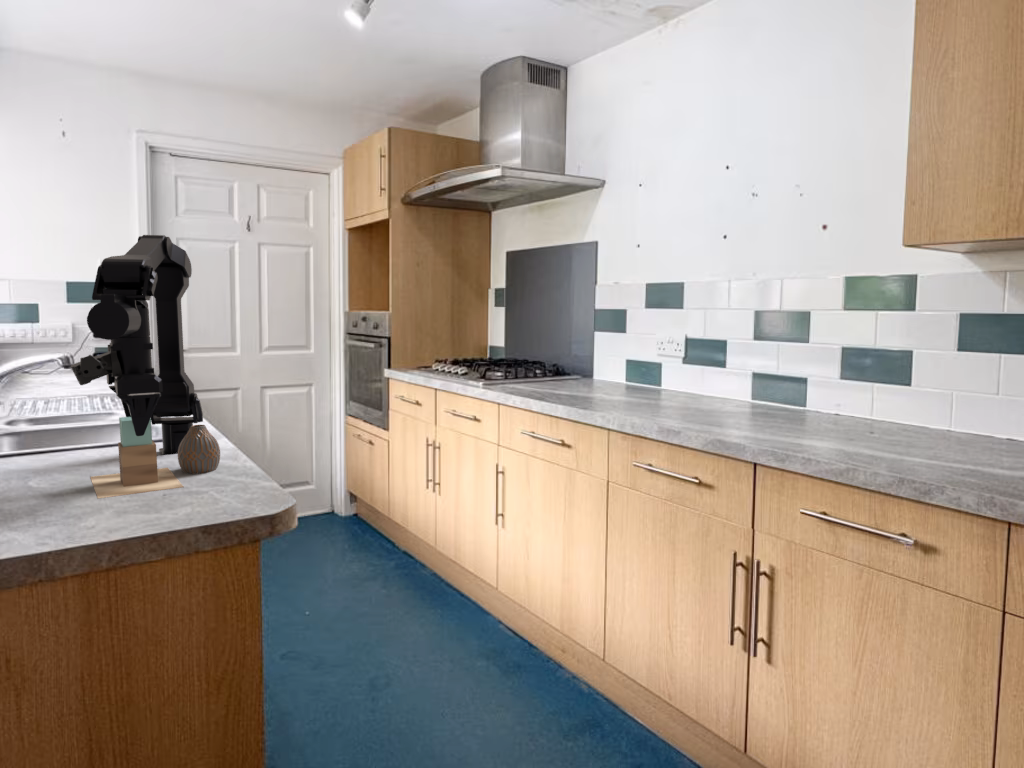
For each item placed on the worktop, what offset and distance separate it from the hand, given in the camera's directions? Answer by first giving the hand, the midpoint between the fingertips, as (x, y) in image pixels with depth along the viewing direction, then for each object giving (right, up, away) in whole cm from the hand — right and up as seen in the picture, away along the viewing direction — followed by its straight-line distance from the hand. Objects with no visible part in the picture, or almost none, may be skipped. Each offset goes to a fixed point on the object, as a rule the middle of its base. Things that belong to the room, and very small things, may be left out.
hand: (136, 431), depth 116 cm
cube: (0, -2, 0) cm, 2 cm away
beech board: (0, -9, +1) cm, 9 cm away
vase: (+6, -8, +9) cm, 14 cm away
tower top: (0, -5, +1) cm, 5 cm away
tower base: (0, -8, +1) cm, 8 cm away
